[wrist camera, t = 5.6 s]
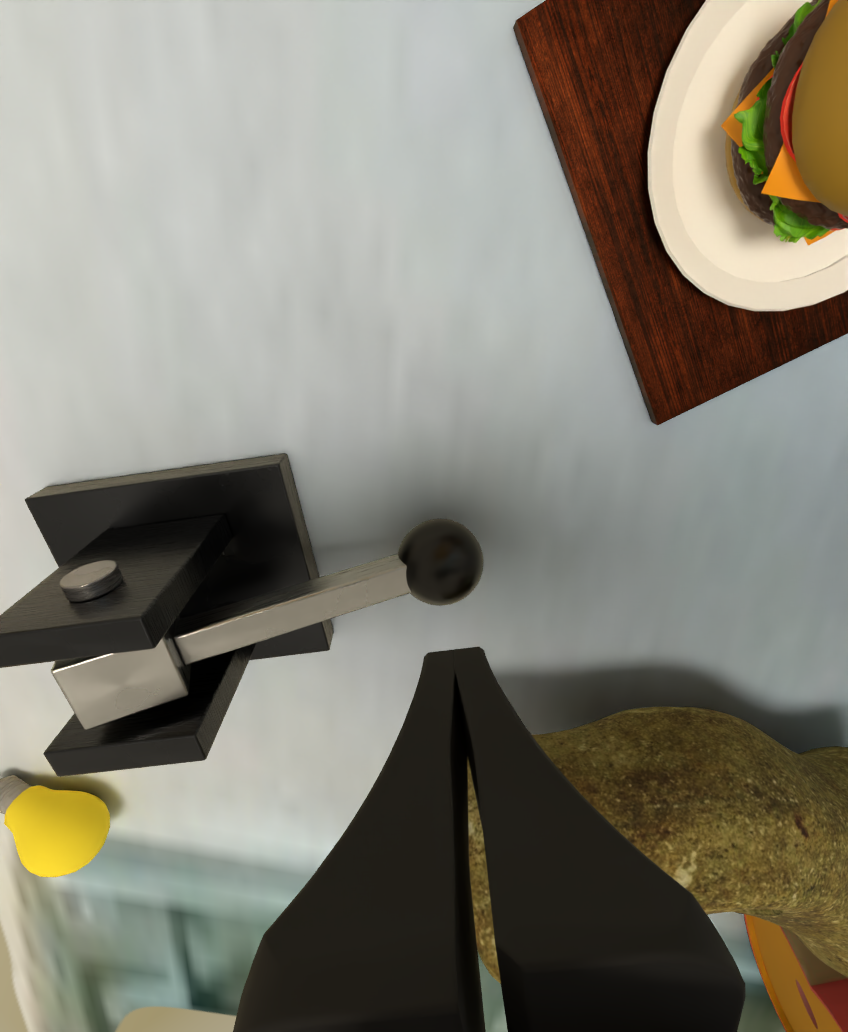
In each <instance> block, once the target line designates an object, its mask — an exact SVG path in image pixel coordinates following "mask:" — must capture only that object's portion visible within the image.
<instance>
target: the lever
mask: <svg viewBox="0 0 848 1032" xmlns="http://www.w3.org/2000/svg"><path fill="white" fill-rule="evenodd" d="M482 571H483V554H482V550H481V547H480V544H479V542H478V540H477V539H476V537H475V536H474V535H473V533H472V532H471V531H470V530H469V529H467V528H466V527H465V526H463V525H462V524H460V523H458V522H455V521H452V520H448V519H432V520H428V521H425V522H422V523H420V524H418V525H417V526H415V527H414V528H413V529H412V530H410V531H409V532H408V534H407V535H406V536H405V537H404V539H403V541H402V543H401V545H400V547H399V551H398V554H396V555H392V556H389V557H386V558H382V559H379V560H376V561H372V562H369V563H366V564H362V565H359V566H356V567H352V568H349V569H346V570H342V571H339V572H336V573H333V574H329V575H326V576H323V577H319V578H316V579H313V580H309V581H306V582H303V583H299V584H296V585H293V586H289V587H286V588H283V589H279V590H276V591H273V592H269V593H266V594H263V595H260V596H256V597H253V598H250V599H246V600H243V601H240V602H236V603H233V604H230V605H226V606H223V607H220V608H216V609H213V610H210V611H206V612H203V613H200V614H196V615H193V616H190V617H187V618H183V619H180V617H179V615H178V617H177V618H176V619H175V621H174V622H173V624H172V625H171V627H170V628H169V629H168V631H167V632H166V634H165V635H164V636H163V638H162V639H161V641H160V642H159V644H158V645H157V646H156V647H155V648H153V649H148V650H140V651H132V652H124V653H115V654H107V655H99V656H91V657H83V658H75V659H67V660H59V661H55V663H54V665H53V667H52V669H51V673H52V674H53V676H54V678H55V680H56V681H57V683H58V685H59V687H60V688H61V690H62V692H63V694H64V695H65V697H66V699H67V701H68V702H69V704H70V706H71V707H72V709H73V711H74V713H75V714H76V716H77V718H78V720H79V721H80V723H81V725H82V727H83V728H84V730H88V729H91V728H94V727H97V726H100V725H103V724H106V723H109V722H112V721H115V720H118V719H121V718H124V717H127V716H130V715H133V714H136V713H139V712H141V711H144V710H147V709H150V708H153V707H156V706H159V705H162V704H165V703H168V702H171V701H174V700H177V699H180V698H183V697H186V696H187V695H188V694H189V685H190V672H191V664H192V663H195V662H198V661H201V660H205V659H208V658H211V657H214V656H217V655H220V654H223V653H226V652H229V651H232V650H235V649H238V648H241V647H245V646H248V645H251V644H254V643H257V642H260V641H263V640H266V639H269V638H272V637H275V636H278V635H282V634H285V633H288V632H291V631H294V630H297V629H300V628H303V627H306V626H309V625H312V624H315V623H318V622H322V621H325V620H328V619H331V618H334V617H337V616H340V615H343V614H346V613H349V612H352V611H355V610H358V609H362V608H365V607H368V606H371V605H374V604H377V603H380V602H383V601H386V600H389V599H392V598H395V597H399V596H402V595H405V594H408V593H410V594H412V595H413V596H414V597H415V598H417V599H418V600H420V601H422V602H425V603H427V604H431V605H449V604H453V603H456V602H458V601H460V600H462V599H464V598H465V597H467V596H468V595H469V594H470V593H471V592H472V591H473V590H474V588H475V587H476V586H477V584H478V582H479V580H480V578H481V575H482Z"/></svg>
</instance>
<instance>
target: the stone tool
mask: <svg viewBox="0 0 848 1032" xmlns="http://www.w3.org/2000/svg"><path fill="white" fill-rule="evenodd" d="M532 736H533V737H534V739H535V740H536V742H537V743H538V744H539V745H540V747H541V748H542V749H543V751H544V752H545V753H546V754H547V756H548V757H549V758H550V759H551V761H552V762H553V763H554V764H555V765H556V767H557V768H558V769H559V770H560V771H561V772H562V774H563V775H564V776H565V777H566V778H567V779H568V780H569V781H570V783H571V784H572V785H573V786H574V787H575V788H576V789H577V790H578V791H579V792H580V794H581V795H582V796H583V797H584V798H585V799H586V800H587V801H588V802H589V803H590V804H591V805H592V806H593V807H594V808H595V809H596V810H597V811H598V812H599V813H600V814H601V815H602V816H603V817H604V818H605V819H606V820H607V821H608V822H610V823H611V824H612V825H613V826H614V827H615V828H616V829H617V830H618V831H619V832H620V833H621V834H622V835H623V836H624V837H625V838H626V839H628V840H629V841H630V842H631V843H632V844H633V845H634V846H635V847H636V848H638V849H639V850H640V851H641V852H642V853H643V854H644V855H645V856H647V857H648V858H649V859H650V860H651V861H653V862H654V863H655V864H656V865H657V866H659V867H660V868H661V869H662V870H663V871H664V872H666V873H667V874H668V875H669V876H671V877H672V878H673V879H674V880H676V881H677V882H678V883H679V884H681V885H682V886H683V887H684V888H686V889H687V890H688V891H689V892H691V893H692V894H693V896H694V897H695V898H696V900H697V901H698V903H699V904H700V906H701V907H702V908H703V910H704V911H705V913H706V914H712V913H721V912H731V911H732V912H736V913H741V914H746V915H750V916H755V917H758V918H761V919H763V920H766V921H769V922H772V923H774V924H776V925H779V926H781V927H783V928H785V929H787V930H790V931H791V932H793V933H795V935H796V936H797V937H798V939H799V940H800V941H801V942H802V943H803V944H804V945H805V946H806V947H807V948H808V949H809V950H810V951H811V952H812V953H813V954H814V955H815V956H816V957H817V958H819V959H820V960H821V961H823V962H824V963H825V964H826V965H828V966H829V967H831V968H833V969H834V970H836V971H838V972H839V973H841V974H843V975H844V976H846V977H847V978H848V747H839V746H832V747H821V748H816V749H811V750H808V751H805V752H803V753H800V754H797V753H795V752H793V751H791V750H789V749H788V748H786V747H785V746H783V745H782V744H780V743H778V742H777V741H775V740H774V739H773V738H771V737H770V736H768V735H767V734H765V733H764V732H762V731H761V730H759V729H758V728H756V727H755V726H753V725H752V724H750V723H748V722H746V721H744V720H742V719H740V718H737V717H734V716H732V715H729V714H726V713H722V712H718V711H714V710H710V709H703V708H696V707H646V708H636V709H630V710H624V711H621V712H618V713H615V714H612V715H610V716H607V717H605V718H602V719H600V720H597V721H594V722H591V723H588V724H585V725H582V726H579V727H576V728H573V729H569V730H564V731H559V732H554V733H547V734H534V735H532ZM467 766H468V827H469V865H470V880H471V891H472V901H473V911H474V922H475V932H476V942H477V950H478V952H479V955H480V957H481V960H482V961H483V963H484V965H485V966H486V968H487V969H488V971H489V973H490V974H491V976H492V977H494V978H495V979H496V980H497V981H498V982H499V983H500V984H501V980H500V974H499V967H498V960H497V953H496V946H495V938H494V928H493V919H492V910H491V901H490V892H489V882H488V873H487V864H486V855H485V846H484V837H483V830H482V825H481V820H480V815H479V810H478V805H477V800H476V796H475V791H474V786H473V781H472V776H471V771H470V766H469V761H468V756H467Z"/></svg>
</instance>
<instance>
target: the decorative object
mask: <svg viewBox="0 0 848 1032" xmlns="http://www.w3.org/2000/svg"><path fill="white" fill-rule="evenodd" d="M744 918H745V924H746V928H747V933H748V937H749V940H750V944H751V947H752V951H753V954H754V957H755V960H756V963H757V966H758V969H759V972H760V974H761V977H762V979H763V982H764V985H765V987H766V990H767V992H768V994H769V997H770V999H771V1001H772V1003H773V1006H774V1008H775V1010H776V1012H777V1014H778V1016H779V1019H780V1021H781V1023H782V1025H783V1027H784V1029H785V1031H786V1032H848V978H847V977H846V976H844V975H843V974H841V973H839V972H838V971H836V970H834V969H833V968H831V967H829V966H828V965H826V964H825V963H824V962H823V961H821V960H820V959H819V958H817V957H816V956H815V955H814V954H813V953H812V952H811V951H810V950H809V949H808V948H807V947H806V946H805V945H804V944H803V943H802V942H801V941H800V940H799V939H798V937H797V936H796V935H795V933H793V932H791V931H790V930H787V929H785V928H783V927H781V926H779V925H776V924H774V923H772V922H769V921H766V920H763V919H761V918H758V917H755V916H750V915H746V914H744Z"/></svg>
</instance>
